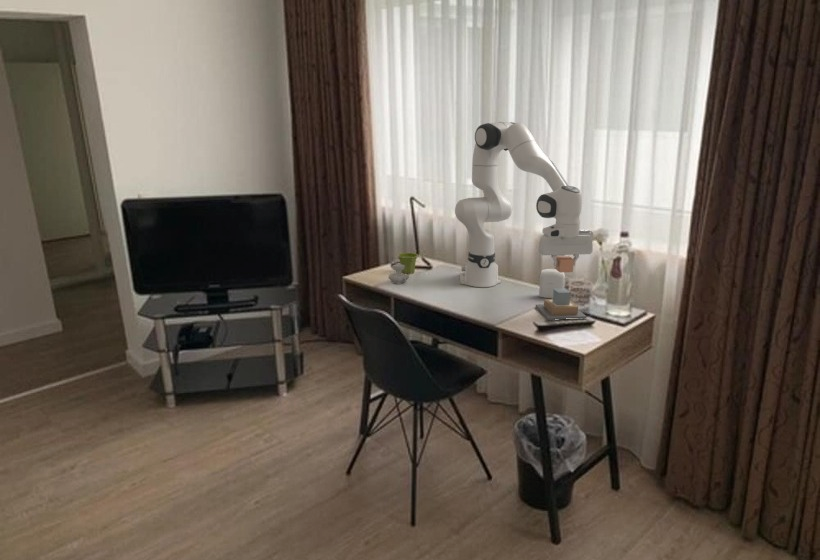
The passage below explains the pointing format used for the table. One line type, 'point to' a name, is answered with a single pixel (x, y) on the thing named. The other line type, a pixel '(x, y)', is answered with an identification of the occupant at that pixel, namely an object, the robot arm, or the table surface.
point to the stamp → (398, 274)
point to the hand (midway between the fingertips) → (564, 265)
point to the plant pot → (408, 262)
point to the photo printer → (550, 282)
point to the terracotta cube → (564, 264)
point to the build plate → (552, 317)
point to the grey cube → (561, 296)
